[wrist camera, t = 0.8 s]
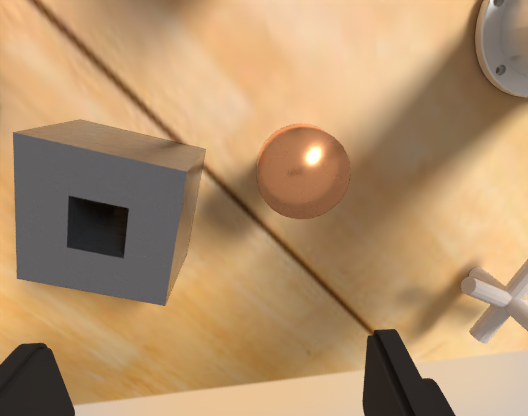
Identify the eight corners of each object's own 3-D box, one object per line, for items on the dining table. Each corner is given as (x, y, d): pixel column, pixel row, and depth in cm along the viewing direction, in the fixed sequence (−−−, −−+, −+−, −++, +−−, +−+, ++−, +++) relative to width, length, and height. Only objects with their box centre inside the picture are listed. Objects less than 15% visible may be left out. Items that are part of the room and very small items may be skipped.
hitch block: (205, 149, 32) (187, 171, 23) (186, 254, 36) (165, 305, 27) (80, 119, 31) (13, 132, 22) (75, 231, 35) (17, 278, 26)
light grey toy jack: (484, 319, 40) (554, 391, 30) (416, 293, 38) (468, 360, 29) (539, 253, 37) (635, 311, 27) (467, 221, 35) (543, 271, 26)
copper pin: (330, 123, 31) (363, 140, 21) (311, 185, 33) (333, 227, 24) (265, 107, 31) (269, 117, 21) (250, 171, 33) (247, 208, 23)
